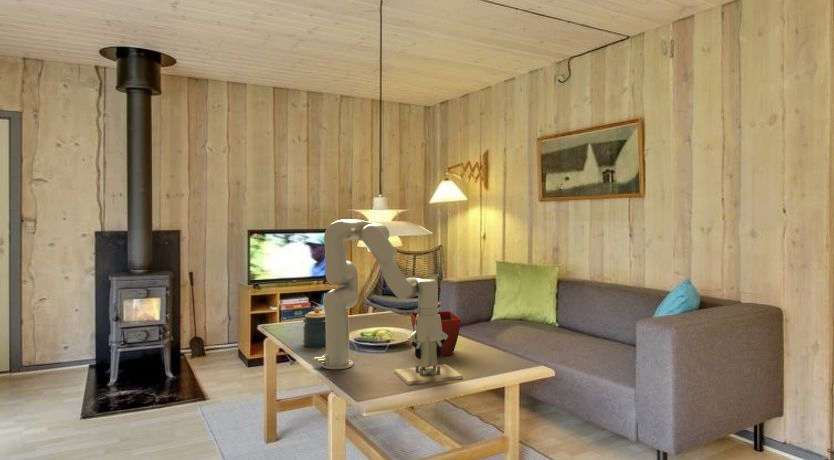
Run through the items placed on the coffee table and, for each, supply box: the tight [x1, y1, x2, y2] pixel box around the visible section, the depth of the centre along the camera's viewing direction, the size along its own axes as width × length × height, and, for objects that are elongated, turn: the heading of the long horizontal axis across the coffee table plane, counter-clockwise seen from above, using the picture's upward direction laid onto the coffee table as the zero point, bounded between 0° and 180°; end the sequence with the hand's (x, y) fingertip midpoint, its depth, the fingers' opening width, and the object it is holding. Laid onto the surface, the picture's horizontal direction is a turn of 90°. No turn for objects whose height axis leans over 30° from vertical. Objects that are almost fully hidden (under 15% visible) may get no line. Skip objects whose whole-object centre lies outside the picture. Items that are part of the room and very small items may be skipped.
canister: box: [302, 307, 326, 349], centre depth 254 cm, size 13×13×18 cm
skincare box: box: [418, 336, 438, 368], centre depth 205 cm, size 6×4×12 cm
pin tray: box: [394, 363, 464, 386], centre depth 206 cm, size 22×16×4 cm
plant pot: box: [410, 310, 462, 357], centre depth 239 cm, size 19×19×17 cm
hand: (428, 357), depth 206 cm, fingers closed on skincare box, 7 cm apart
